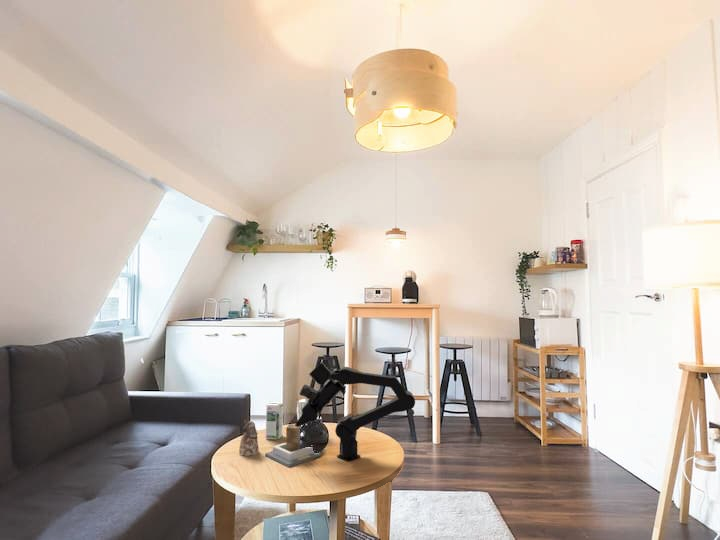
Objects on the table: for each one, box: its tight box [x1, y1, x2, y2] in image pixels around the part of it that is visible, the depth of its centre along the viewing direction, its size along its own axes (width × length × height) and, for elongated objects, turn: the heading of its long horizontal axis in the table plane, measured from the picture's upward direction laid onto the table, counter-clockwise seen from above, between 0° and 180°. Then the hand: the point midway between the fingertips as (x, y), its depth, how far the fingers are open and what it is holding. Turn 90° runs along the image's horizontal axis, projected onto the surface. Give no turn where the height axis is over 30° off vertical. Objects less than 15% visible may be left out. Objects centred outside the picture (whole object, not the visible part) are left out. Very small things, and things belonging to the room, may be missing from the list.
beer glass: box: [296, 398, 309, 421], centre depth 179 cm, size 7×7×15 cm
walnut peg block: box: [285, 423, 301, 452], centre depth 155 cm, size 4×4×10 cm
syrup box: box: [265, 401, 284, 441], centre depth 176 cm, size 6×6×14 cm
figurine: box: [238, 420, 259, 457], centre depth 158 cm, size 7×7×12 cm
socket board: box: [264, 442, 322, 468], centre depth 154 cm, size 15×15×4 cm
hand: (298, 422), depth 155 cm, fingers open, 9 cm apart
